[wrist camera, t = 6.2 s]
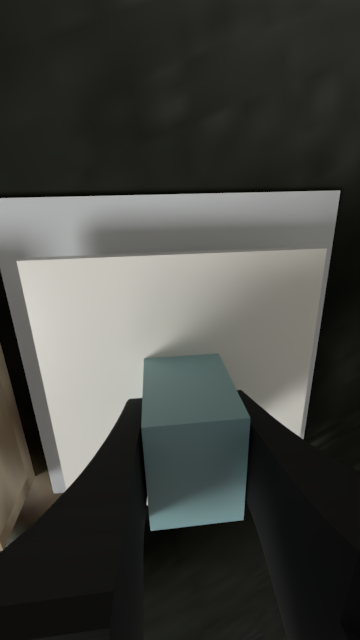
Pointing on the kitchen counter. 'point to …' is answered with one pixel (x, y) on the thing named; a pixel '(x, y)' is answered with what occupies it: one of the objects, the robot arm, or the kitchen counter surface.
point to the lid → (175, 361)
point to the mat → (150, 249)
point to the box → (11, 458)
